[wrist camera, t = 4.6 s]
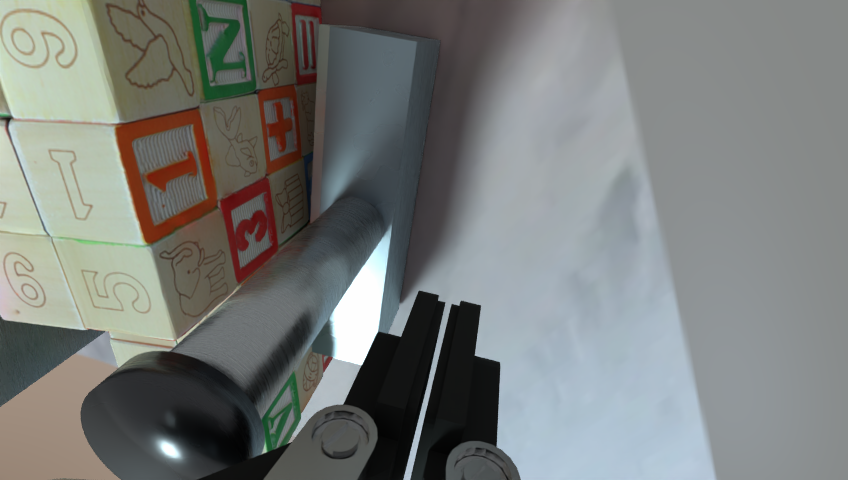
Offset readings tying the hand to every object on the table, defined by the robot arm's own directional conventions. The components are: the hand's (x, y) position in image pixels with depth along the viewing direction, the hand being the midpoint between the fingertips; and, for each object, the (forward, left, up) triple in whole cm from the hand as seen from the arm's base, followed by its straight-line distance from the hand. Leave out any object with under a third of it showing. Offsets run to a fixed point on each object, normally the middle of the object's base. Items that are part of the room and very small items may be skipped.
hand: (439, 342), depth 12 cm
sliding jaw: (+4, 0, -11) cm, 12 cm away
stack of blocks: (+10, +1, -12) cm, 16 cm away
